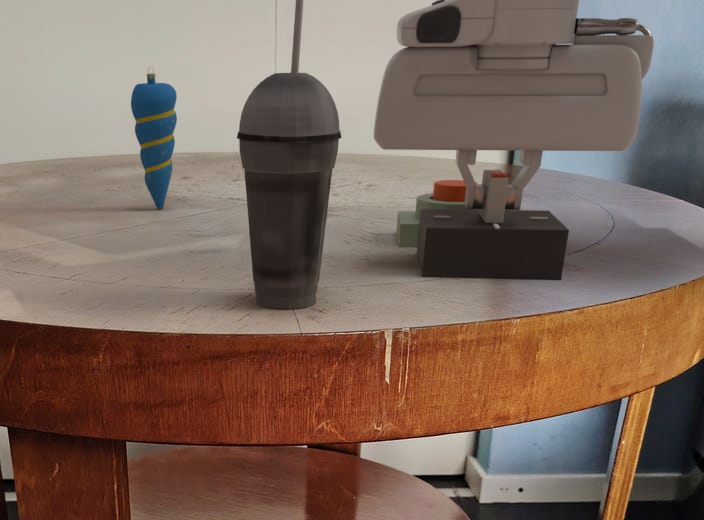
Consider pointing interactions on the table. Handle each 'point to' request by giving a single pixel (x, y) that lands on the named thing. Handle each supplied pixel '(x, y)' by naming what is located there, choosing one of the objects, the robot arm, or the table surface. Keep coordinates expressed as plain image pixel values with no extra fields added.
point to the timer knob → (494, 196)
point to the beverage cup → (288, 180)
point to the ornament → (155, 133)
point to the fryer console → (491, 245)
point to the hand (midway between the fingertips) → (491, 208)
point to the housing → (410, 219)
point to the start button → (450, 190)
